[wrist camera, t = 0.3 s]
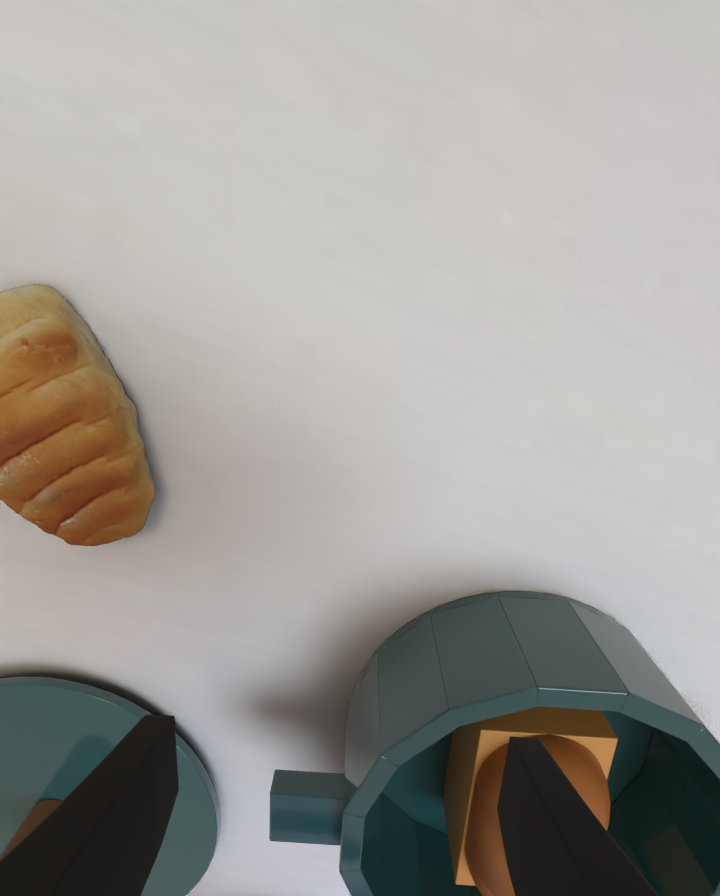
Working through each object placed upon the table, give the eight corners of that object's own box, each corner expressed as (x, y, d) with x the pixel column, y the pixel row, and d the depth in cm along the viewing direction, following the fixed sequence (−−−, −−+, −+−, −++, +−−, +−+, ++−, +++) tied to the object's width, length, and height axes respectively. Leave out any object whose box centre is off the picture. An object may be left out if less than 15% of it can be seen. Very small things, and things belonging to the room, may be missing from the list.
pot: (678, 853, 25) (762, 1003, 19) (287, 828, 25) (264, 970, 19) (764, 606, 20) (901, 710, 15) (293, 575, 20) (266, 669, 15)
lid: (226, 911, 26) (197, 1035, 22) (-57, 892, 26) (-145, 1013, 22) (220, 677, 22) (182, 772, 18) (-120, 655, 22) (-246, 745, 18)
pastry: (210, 485, 19) (172, 527, 16) (79, 557, 20) (15, 612, 17) (60, 268, 17) (-25, 258, 13) (-77, 362, 18) (-190, 377, 15)
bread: (546, 805, 23) (604, 970, 17) (442, 798, 23) (466, 961, 17) (577, 667, 21) (656, 804, 15) (462, 660, 21) (497, 794, 15)
